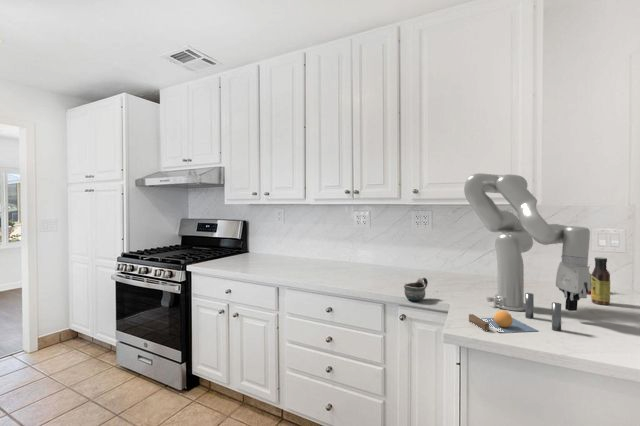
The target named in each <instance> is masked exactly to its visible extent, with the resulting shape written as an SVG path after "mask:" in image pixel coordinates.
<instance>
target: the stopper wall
mask: <svg viewBox="0 0 640 426" xmlns="http://www.w3.org/2000/svg"><path fill="white" fill-rule="evenodd" d="M480 318H481V317H478V316H476V315H475V314H473V313H472V314H471V313H469V314H468V322H469V321H471V322H472V324H473V323H474V324H475V325H474V324H473V325H474V326H476V325H477V326H478V328H479V327H480V328H482V329H483V330H482V329H481V330H482V331H484V330H489V331H490V327H489V323H487V322H485V321H483V320H482V319H480ZM471 322H470V323H471ZM477 326H476V327H477ZM480 328H479V329H480Z"/></svg>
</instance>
